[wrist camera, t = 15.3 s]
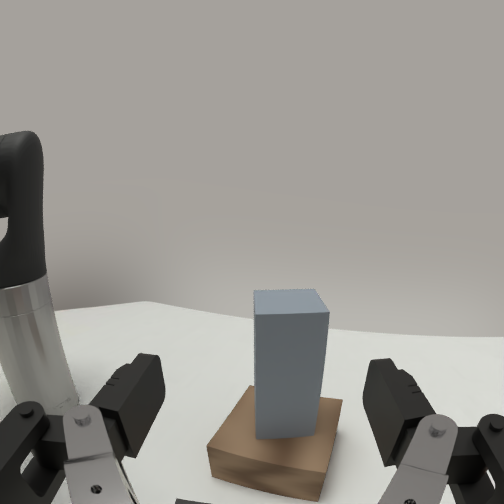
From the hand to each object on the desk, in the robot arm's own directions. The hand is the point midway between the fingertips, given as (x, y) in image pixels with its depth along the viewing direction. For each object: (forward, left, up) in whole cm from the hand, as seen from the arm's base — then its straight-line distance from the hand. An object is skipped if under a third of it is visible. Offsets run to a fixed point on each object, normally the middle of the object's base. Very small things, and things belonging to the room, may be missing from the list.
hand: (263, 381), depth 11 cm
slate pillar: (-3, +12, -13) cm, 18 cm away
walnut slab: (-3, +11, -18) cm, 21 cm away
